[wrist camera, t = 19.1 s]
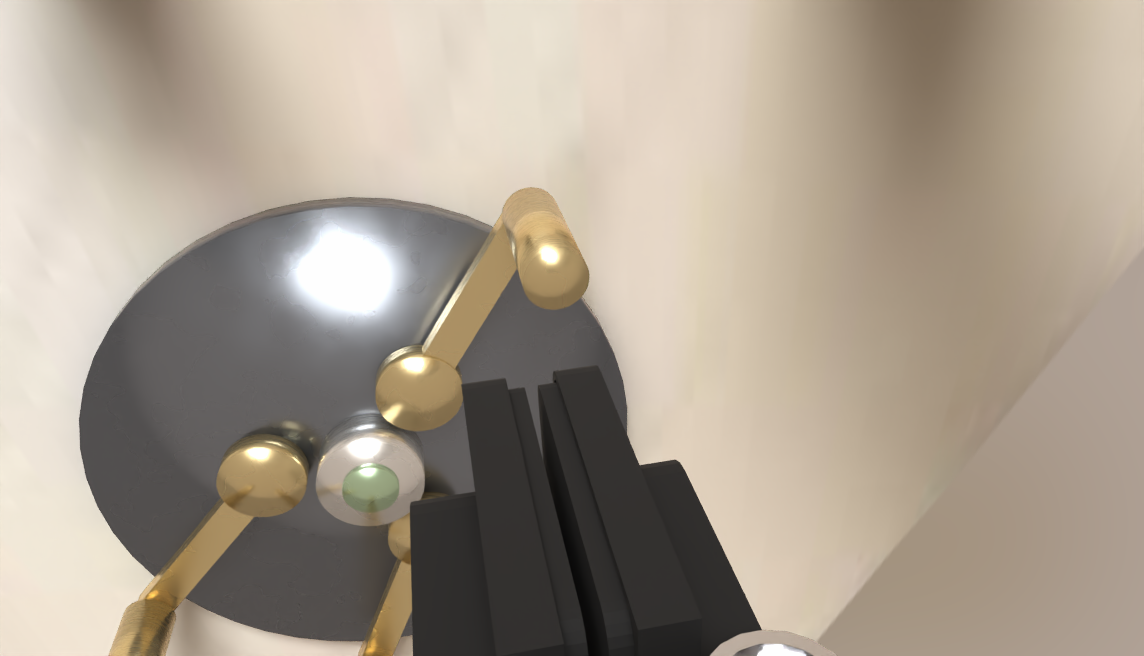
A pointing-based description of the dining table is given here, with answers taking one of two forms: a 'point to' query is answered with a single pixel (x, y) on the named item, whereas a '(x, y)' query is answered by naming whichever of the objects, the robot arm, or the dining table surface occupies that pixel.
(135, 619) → the gold l-shaped piece
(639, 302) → the dining table surface
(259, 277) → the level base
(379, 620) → the brass crank handle
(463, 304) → the brass bent bar
